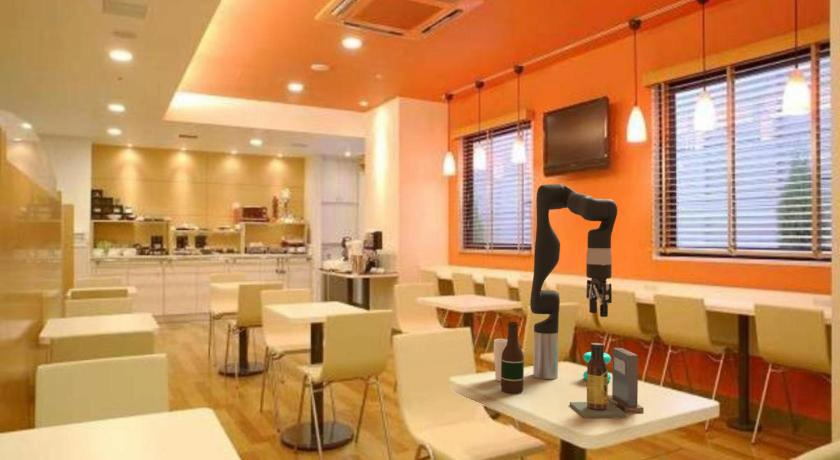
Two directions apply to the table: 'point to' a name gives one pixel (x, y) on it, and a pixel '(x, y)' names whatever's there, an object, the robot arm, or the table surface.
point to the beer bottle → (512, 363)
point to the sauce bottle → (597, 379)
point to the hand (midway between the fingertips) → (598, 314)
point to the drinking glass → (498, 356)
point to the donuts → (588, 357)
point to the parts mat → (591, 413)
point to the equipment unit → (625, 381)
